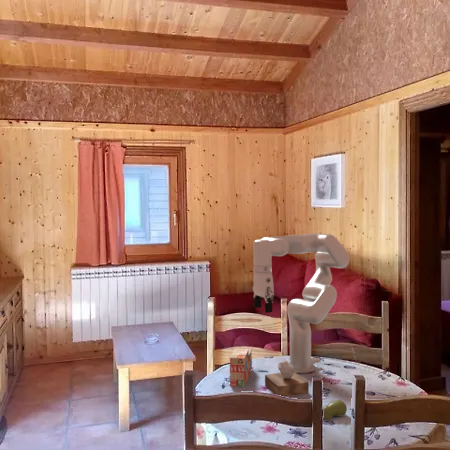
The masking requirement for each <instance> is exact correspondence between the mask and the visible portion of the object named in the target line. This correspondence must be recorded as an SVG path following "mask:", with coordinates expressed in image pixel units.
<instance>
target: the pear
mask: <svg viewBox="0 0 450 450" xmlns="http://www.w3.org/2000/svg"><path fill="white" fill-rule="evenodd" d="M322 407H323V411H324V418H323V420H330V419H332V418H333V417H334V416H336V417H343V416H345V415H346V413H347V410H348V408H347V405H346V403H345V401H344V400H340V399H336V400H332V401H331V402H329V403H328V404H327V405H324V406H322Z"/></svg>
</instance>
